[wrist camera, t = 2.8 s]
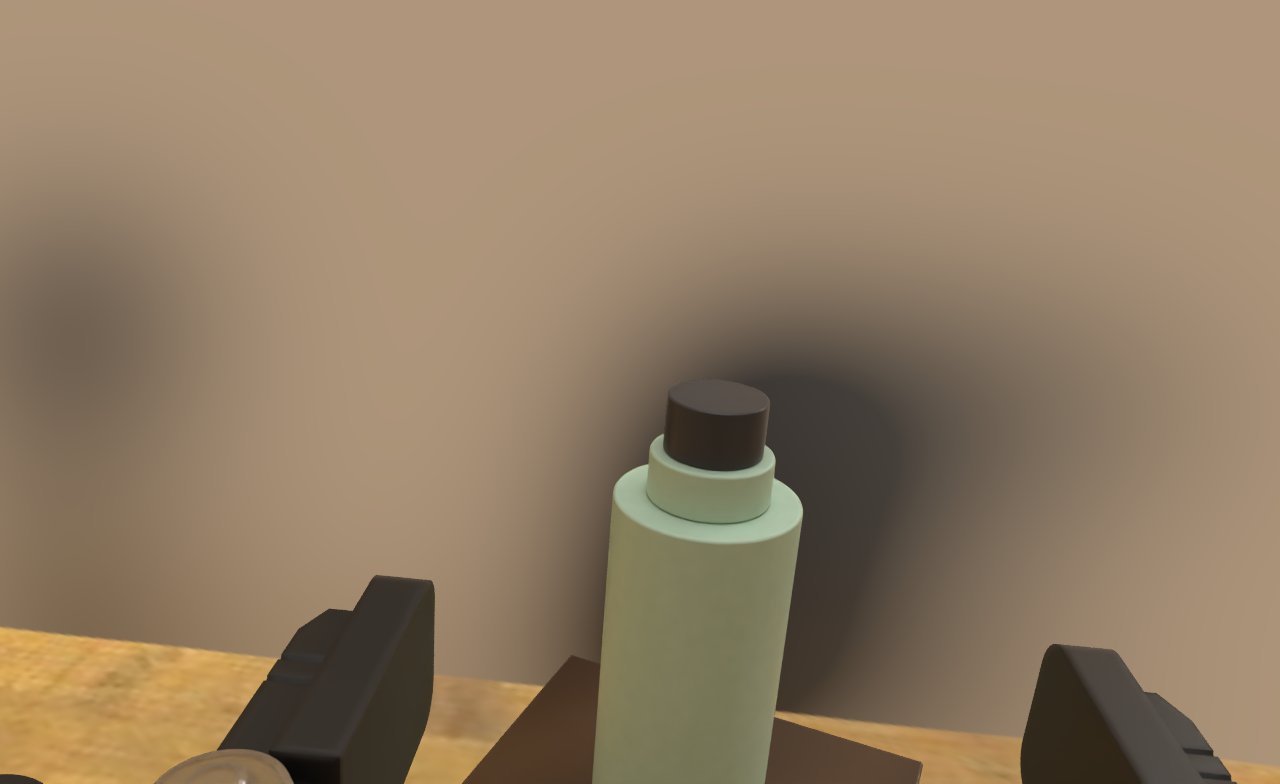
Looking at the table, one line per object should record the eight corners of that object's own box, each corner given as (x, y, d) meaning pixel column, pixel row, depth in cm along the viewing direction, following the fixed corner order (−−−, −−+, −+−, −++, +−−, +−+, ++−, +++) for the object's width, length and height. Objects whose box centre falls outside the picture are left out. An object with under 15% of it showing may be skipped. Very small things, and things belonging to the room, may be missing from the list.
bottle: (775, 799, 29) (836, 386, 25) (727, 917, 25) (790, 449, 21) (628, 749, 31) (661, 353, 27) (560, 854, 27) (587, 405, 23)
